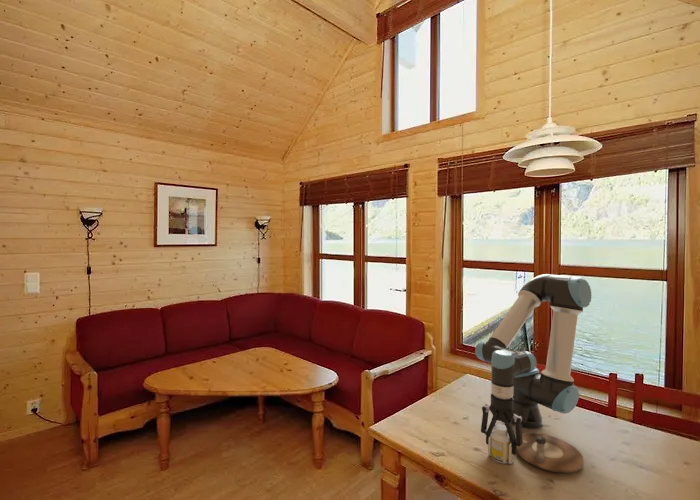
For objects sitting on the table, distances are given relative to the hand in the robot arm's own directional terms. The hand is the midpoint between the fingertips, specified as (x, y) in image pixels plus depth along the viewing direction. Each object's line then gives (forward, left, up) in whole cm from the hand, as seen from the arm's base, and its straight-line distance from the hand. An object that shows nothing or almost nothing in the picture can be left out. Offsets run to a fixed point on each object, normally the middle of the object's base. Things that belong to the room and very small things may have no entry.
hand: (500, 457), depth 130 cm
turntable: (+12, +13, +1) cm, 18 cm away
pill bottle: (0, 0, -1) cm, 1 cm away
